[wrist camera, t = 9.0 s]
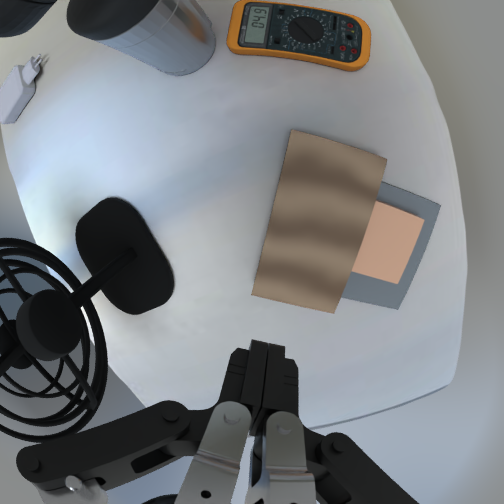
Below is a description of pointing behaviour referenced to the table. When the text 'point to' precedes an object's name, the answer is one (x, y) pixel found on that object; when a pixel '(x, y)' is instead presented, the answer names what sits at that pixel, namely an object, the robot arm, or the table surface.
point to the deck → (317, 221)
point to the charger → (18, 90)
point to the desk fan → (78, 307)
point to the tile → (387, 242)
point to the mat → (392, 293)
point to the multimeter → (299, 34)
